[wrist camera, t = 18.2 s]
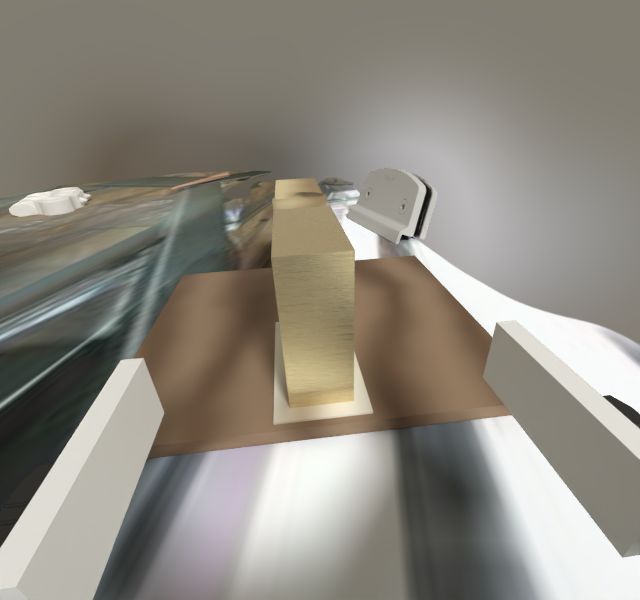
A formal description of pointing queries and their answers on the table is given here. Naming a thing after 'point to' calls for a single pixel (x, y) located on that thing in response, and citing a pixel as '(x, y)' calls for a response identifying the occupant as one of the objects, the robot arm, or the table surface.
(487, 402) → the mounting board
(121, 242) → the table surface
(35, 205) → the white egg tray
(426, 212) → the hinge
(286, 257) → the tan wooden brick
